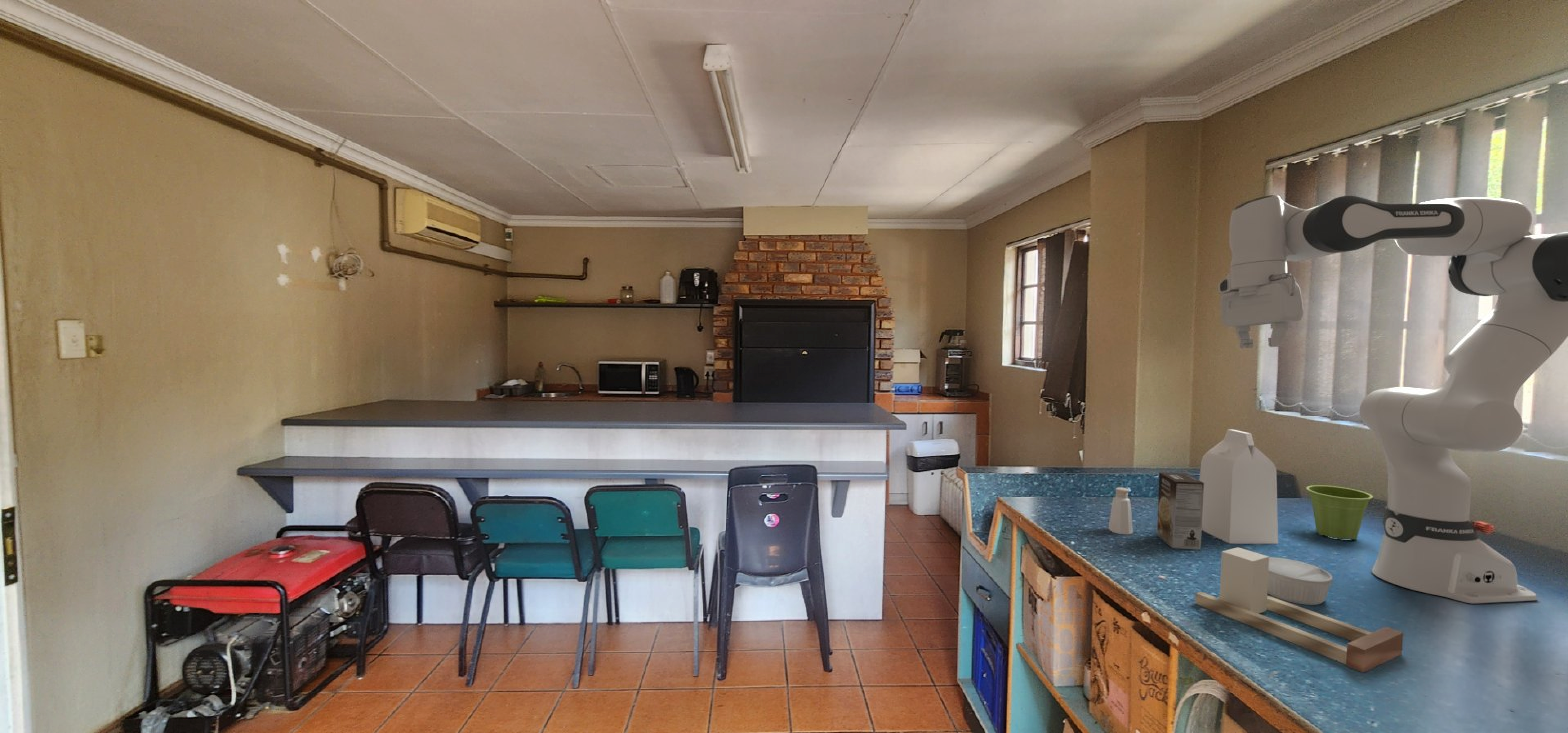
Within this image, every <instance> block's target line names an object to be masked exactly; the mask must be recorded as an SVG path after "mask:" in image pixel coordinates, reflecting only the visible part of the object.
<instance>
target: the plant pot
mask: <svg viewBox="0 0 1568 733" xmlns="http://www.w3.org/2000/svg"><path fill="white" fill-rule="evenodd" d="M1305 489H1306V491H1308V493H1309V498H1310V500H1311V505H1312V510H1313V511H1312V512H1313V516H1314V517H1313V518H1314V523H1315V530H1316V533H1317V532H1318V533H1319V534H1318V533H1317V534H1318V535H1320V534H1321V535H1325V537H1327V536H1329V537H1332V538H1337V539H1356V540H1357V539H1358V535H1359V532H1360V529H1361V526H1362V522H1363V519H1364V515H1365V512H1366V510H1367V507H1368V505H1369V501H1370V500H1371V499H1373V498H1374V496H1373V495H1372V494H1371V493H1368V492H1366V491H1361V490H1358V489H1353V488H1347V487H1342V486H1335V485H1323V484H1322V485H1321V484H1320V485H1319V484H1317V485H1309V486H1308V485H1307V486H1306V488H1305ZM1321 535H1320V536H1321ZM1329 537H1328V538H1329ZM1332 538H1331V539H1332Z"/></svg>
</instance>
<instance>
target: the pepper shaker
mask: <svg viewBox="0 0 1568 733" xmlns="http://www.w3.org/2000/svg"><path fill="white" fill-rule="evenodd" d="M1128 495H1129V489H1128V488H1125V487H1116V488H1115V496H1114V497H1113V498H1112V503H1111V510H1110V516H1109V524H1108V530H1109V531H1110V532H1111V531H1112V532H1111V533H1115V534H1118V535H1131V534H1133V533H1134V529H1133V518H1132V517H1133V516H1132V507H1131V505H1132V504H1131V499H1130V498H1129V497H1128Z"/></svg>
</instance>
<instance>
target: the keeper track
mask: <svg viewBox="0 0 1568 733" xmlns="http://www.w3.org/2000/svg"><path fill="white" fill-rule="evenodd" d="M1194 599H1195V600H1194V601H1195V602H1194V604H1195V605H1198V606H1200V607H1203V608H1206V609H1208V610H1210V611H1213V612H1215V613H1218V614H1219V615H1223V616H1225V617H1227V618H1230V619H1233V620H1235V621H1238V622H1240V623H1243V624H1244V625H1247V626H1250V627H1253V628H1255V629H1257V630H1260V631H1262V632H1264V633H1267V634H1269V635H1272V636H1275V637H1278V638H1280V639H1282V640H1285V641H1287V642H1290V643H1293V644H1294V645H1297V646H1300V647H1302V648H1305V649H1307V650H1308V651H1309V650H1310V651H1312V652H1314V653H1318V654H1319V655H1322V656H1325V657H1327V658H1329V659H1332V660H1334V661H1336V660H1337V661H1336V662H1339V663H1342V664H1344V665H1345V666H1346V667H1348V668H1351V669H1353V670H1356V671H1358V672H1360V673H1362V674H1363V673H1366V672H1368V671H1371V670H1372V669H1374V668H1376V666H1377V667H1379V666H1380V664H1381V665H1382V664H1385V663H1387V662H1389V661H1390V660H1393V659H1395V658H1397V657H1400V656H1401V655H1403V640H1404V632H1402V631H1399V630H1396V629H1394V628H1390V627H1388V626H1385V627H1382V628H1380V629H1377V630H1375V631H1373V632H1372V631H1369V630H1366V629H1364V628H1361V627H1358V626H1355V625H1352V624H1350V623H1346V622H1344V621H1340V620H1338V619H1335V618H1332V617H1329V616H1326V615H1324V614H1321V613H1319V612H1316V611H1313V610H1311V609H1307V608H1304V607H1301V606H1298V605H1296V604H1294V603H1291V602H1288V601H1285V600H1281V599H1279V598H1276V597H1273V596H1271V595H1269V594H1267V610H1268V611H1271V612H1273V613H1275V614H1279V615H1282V616H1285V617H1287V618H1290V619H1292V620H1293V621H1294V620H1295V621H1297V622H1301V623H1303V624H1306V625H1308V626H1311V627H1313V628H1317V629H1318V630H1319V629H1320V630H1322V631H1324V632H1327V633H1330V634H1332V635H1335V636H1337V637H1341V638H1343V637H1344V638H1343V639H1345V638H1346V640H1347V641H1348V640H1349V641H1350V642H1347V644H1346V646H1344V645H1341V644H1339V643H1335V642H1334V641H1330V640H1328V639H1326V638H1323V637H1320V636H1317V635H1316V634H1313V633H1309V632H1307V631H1305V630H1302V629H1299V628H1297V627H1294V626H1292V625H1289V624H1286V623H1283V622H1281V621H1279V620H1276V619H1273V618H1271V617H1268V616H1265V615H1263V614H1262V613H1259V614H1258V613H1255V612H1253V611H1250V610H1247V609H1245V608H1242V607H1240V606H1237V605H1234V604H1232V603H1229V602H1227V601H1224V600H1221V599H1220V597H1219V598H1218V597H1216V596H1213V595H1211V594H1208V593H1205V592H1202V591H1198V592H1195V597H1194ZM1378 665H1379V666H1378Z"/></svg>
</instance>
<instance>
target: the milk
mask: <svg viewBox="0 0 1568 733" xmlns="http://www.w3.org/2000/svg"><path fill="white" fill-rule="evenodd" d="M1200 462H1201V463H1200V469H1199V479H1198V480H1200V481H1201V482H1203V483H1204V493H1203V512H1202V531H1203V532H1205V533H1207V534H1209V535H1211V536H1213V537H1214V538H1218V539H1220V540H1221V539H1222V540H1221V541H1223V542H1226V543H1228V544H1237V545H1238V544H1243V545H1244V544H1248V545H1249V544H1256V545H1257V544H1260V545H1261V544H1266V545H1267V544H1270V545H1271V544H1274V545H1277V544H1279V530H1278V529H1279V527H1278V487H1277V486H1278V484H1277V483H1278V482H1277V481H1278V480H1277V474H1278V473H1277V467H1276V465H1275V463H1274V462H1273V461H1272V460H1271V459H1270V458H1269V457H1268V456H1267V455H1265V454H1264V452H1262V451H1261V450H1260V449H1259V448H1258V447H1256V446H1255V441H1254V439H1253V434H1252V433H1251V432H1246V431H1241V430H1238V429H1232V428H1231V429H1230V428H1229V429H1226V432H1225V435H1224V437H1223V439H1222V440H1221V441H1220V442H1218V443H1217V444H1216V445H1214V446H1213V447H1211V448H1210V449H1209V450H1208V451H1206V453H1204V455H1202V458H1201V461H1200Z"/></svg>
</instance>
